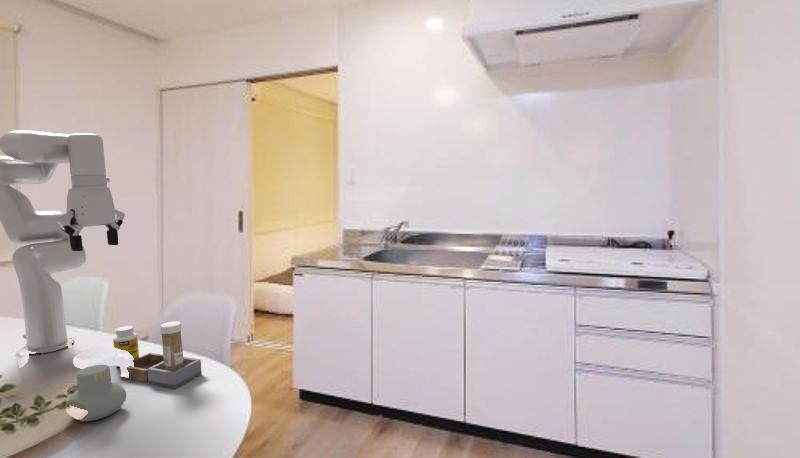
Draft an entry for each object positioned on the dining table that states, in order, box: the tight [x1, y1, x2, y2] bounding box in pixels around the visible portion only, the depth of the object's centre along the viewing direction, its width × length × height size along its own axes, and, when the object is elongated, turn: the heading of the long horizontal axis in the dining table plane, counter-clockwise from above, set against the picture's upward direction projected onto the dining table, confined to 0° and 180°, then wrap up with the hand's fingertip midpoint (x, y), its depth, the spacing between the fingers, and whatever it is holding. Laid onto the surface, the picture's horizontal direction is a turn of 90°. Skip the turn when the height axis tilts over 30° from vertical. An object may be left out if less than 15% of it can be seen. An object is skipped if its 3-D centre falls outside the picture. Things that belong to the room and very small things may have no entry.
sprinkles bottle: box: [160, 320, 184, 371], centre depth 111 cm, size 5×5×14 cm
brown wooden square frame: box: [127, 352, 164, 383], centre depth 116 cm, size 9×9×3 cm
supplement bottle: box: [113, 325, 140, 360], centre depth 120 cm, size 6×6×10 cm
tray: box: [147, 356, 203, 390], centre depth 111 cm, size 8×8×4 cm
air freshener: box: [65, 364, 127, 423], centre depth 95 cm, size 11×8×10 cm
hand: (95, 247), depth 117 cm, fingers open, 9 cm apart
